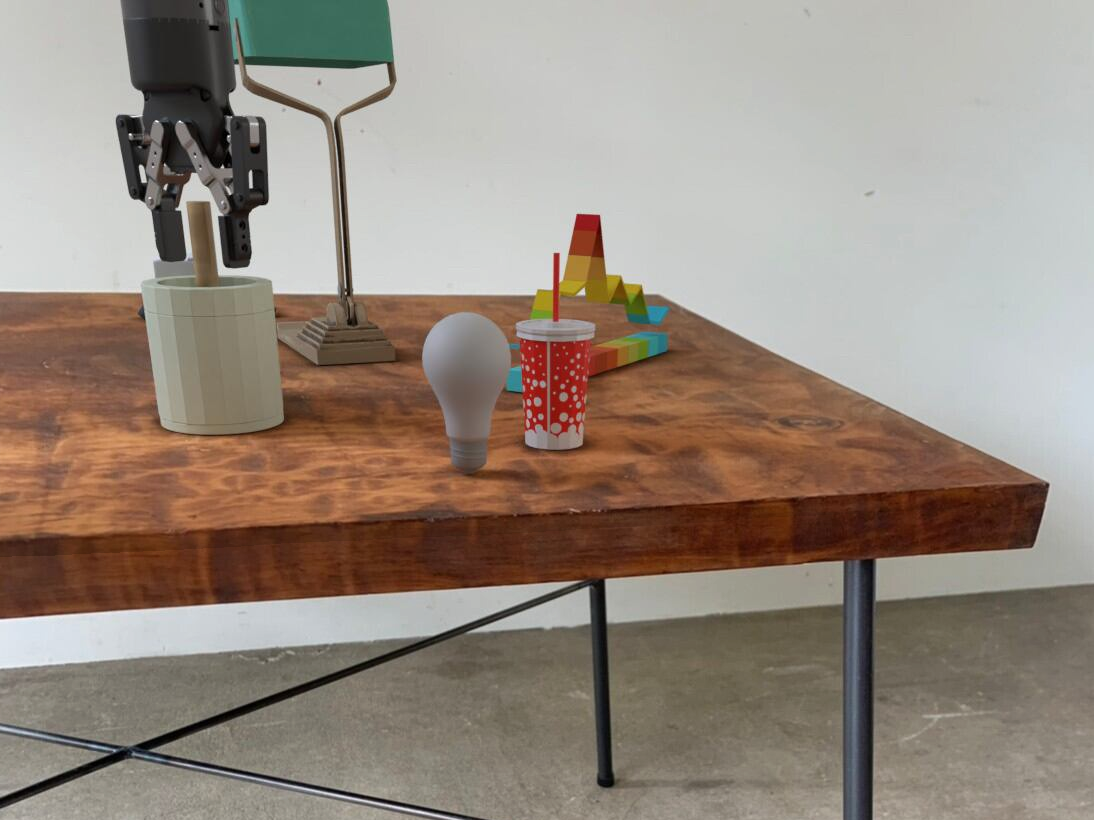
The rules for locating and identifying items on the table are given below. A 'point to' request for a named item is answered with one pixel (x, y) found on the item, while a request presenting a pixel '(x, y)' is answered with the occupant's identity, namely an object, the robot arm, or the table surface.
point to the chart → (601, 288)
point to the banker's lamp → (327, 42)
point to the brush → (202, 243)
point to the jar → (214, 354)
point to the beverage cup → (554, 376)
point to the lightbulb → (467, 381)
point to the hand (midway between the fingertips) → (205, 263)
